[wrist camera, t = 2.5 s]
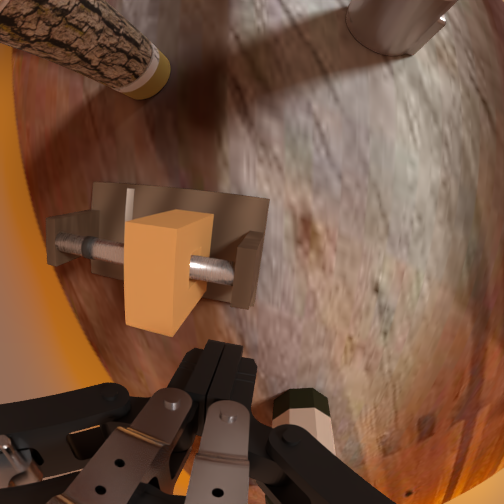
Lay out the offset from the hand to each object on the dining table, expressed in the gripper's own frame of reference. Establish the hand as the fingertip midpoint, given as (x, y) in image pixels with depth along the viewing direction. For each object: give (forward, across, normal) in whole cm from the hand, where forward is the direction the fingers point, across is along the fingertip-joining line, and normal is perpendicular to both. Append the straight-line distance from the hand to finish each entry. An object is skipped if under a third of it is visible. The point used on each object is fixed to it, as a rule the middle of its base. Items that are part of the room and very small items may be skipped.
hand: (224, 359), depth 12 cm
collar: (+17, +7, 0) cm, 18 cm away
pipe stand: (+21, +11, 0) cm, 24 cm away
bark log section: (+21, +17, -20) cm, 34 cm away
